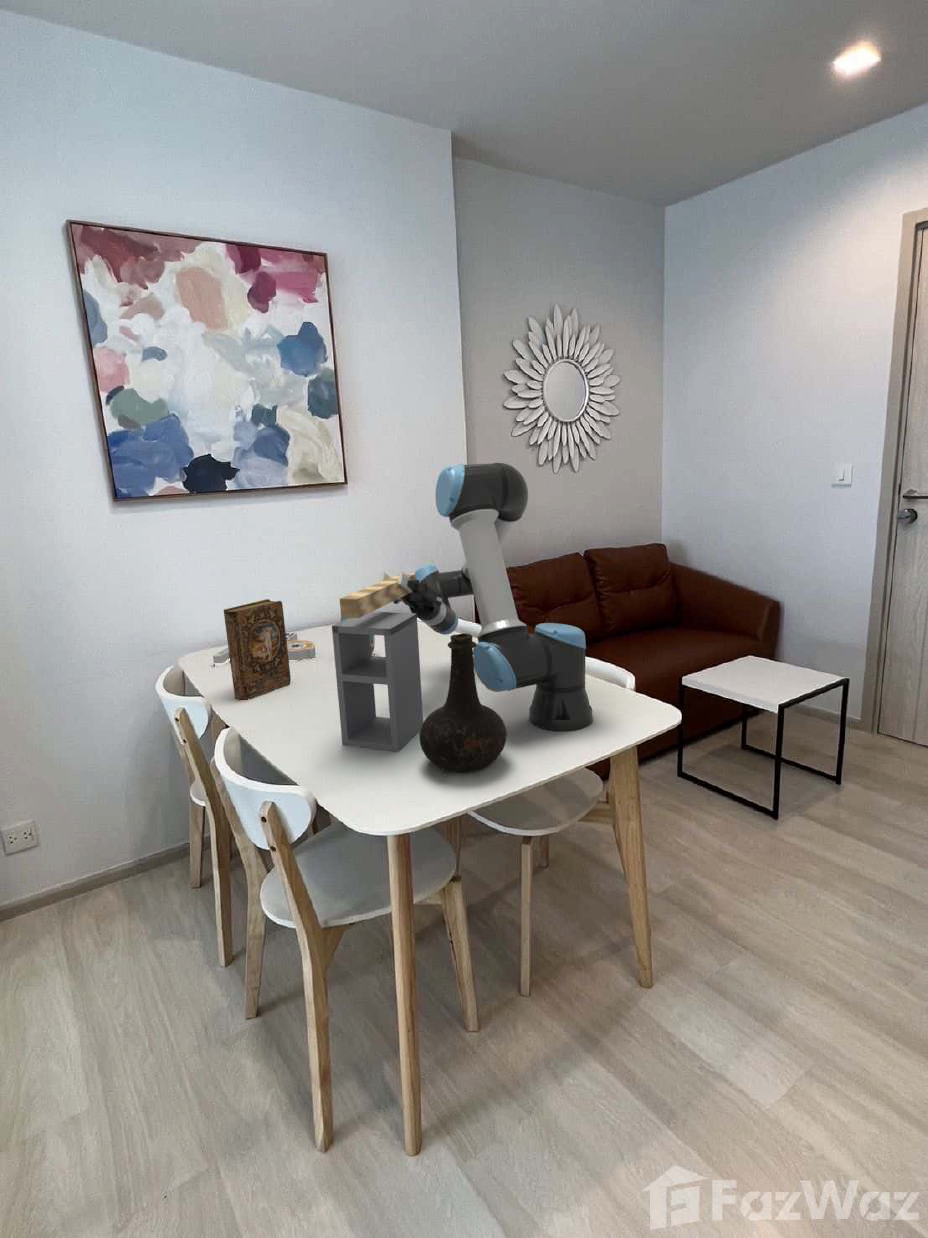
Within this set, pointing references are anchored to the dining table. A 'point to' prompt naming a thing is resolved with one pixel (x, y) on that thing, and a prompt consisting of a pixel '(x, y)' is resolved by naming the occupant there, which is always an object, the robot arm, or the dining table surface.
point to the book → (257, 648)
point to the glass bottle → (462, 719)
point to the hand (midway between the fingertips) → (391, 578)
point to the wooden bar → (373, 597)
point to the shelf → (378, 680)
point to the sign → (294, 646)
